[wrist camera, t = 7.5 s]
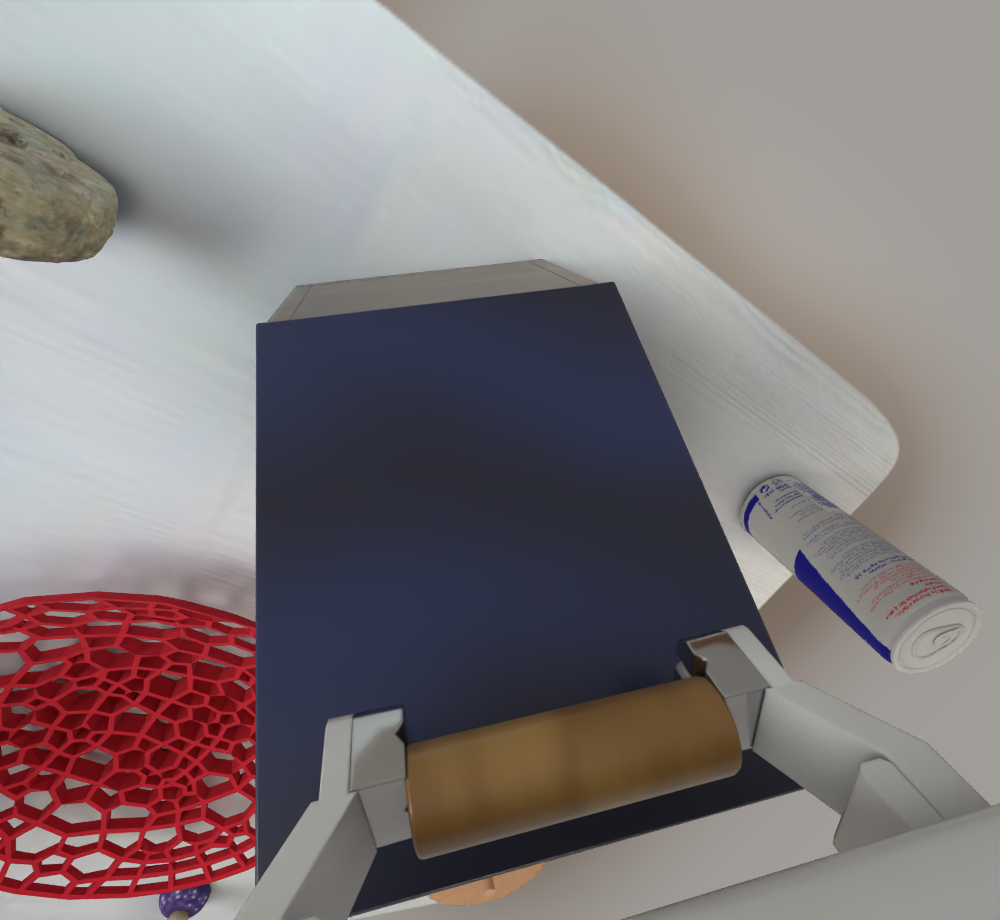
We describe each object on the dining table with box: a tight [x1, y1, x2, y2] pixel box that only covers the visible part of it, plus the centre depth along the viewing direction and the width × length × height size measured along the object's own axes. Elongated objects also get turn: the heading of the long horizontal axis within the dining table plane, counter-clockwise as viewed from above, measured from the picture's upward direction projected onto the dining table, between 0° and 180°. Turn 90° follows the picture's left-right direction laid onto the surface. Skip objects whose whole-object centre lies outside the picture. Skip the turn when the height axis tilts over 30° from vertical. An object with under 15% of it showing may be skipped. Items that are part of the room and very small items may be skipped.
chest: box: [267, 259, 598, 322], centre depth 29 cm, size 17×14×10 cm
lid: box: [255, 282, 804, 917], centre depth 15 cm, size 18×14×5 cm
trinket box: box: [427, 863, 544, 906], centre depth 47 cm, size 11×11×9 cm
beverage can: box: [740, 476, 983, 673], centre depth 36 cm, size 6×6×15 cm
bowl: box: [0, 592, 256, 900], centre depth 37 cm, size 29×30×5 cm
